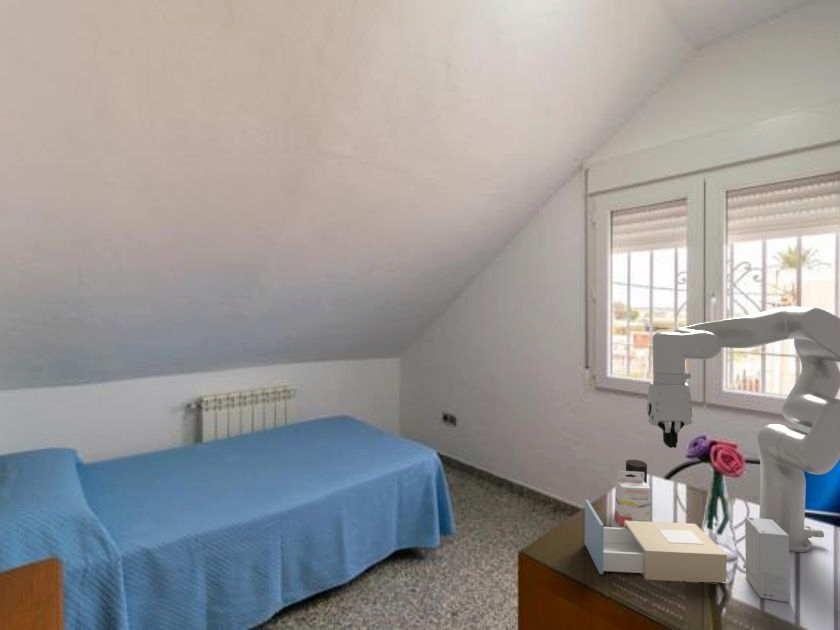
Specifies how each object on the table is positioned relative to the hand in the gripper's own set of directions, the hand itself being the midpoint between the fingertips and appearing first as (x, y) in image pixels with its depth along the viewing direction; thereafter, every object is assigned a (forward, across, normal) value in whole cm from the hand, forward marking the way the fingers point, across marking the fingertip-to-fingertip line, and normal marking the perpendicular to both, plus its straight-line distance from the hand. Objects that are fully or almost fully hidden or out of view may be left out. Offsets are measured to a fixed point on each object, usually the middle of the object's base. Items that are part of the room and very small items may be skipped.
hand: (670, 445), depth 117 cm
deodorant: (+27, +2, -19) cm, 33 cm away
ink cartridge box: (+27, +6, -11) cm, 30 cm away
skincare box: (+28, -12, +18) cm, 35 cm away
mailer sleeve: (+27, +5, +9) cm, 29 cm away
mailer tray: (+26, +15, +9) cm, 31 cm away
